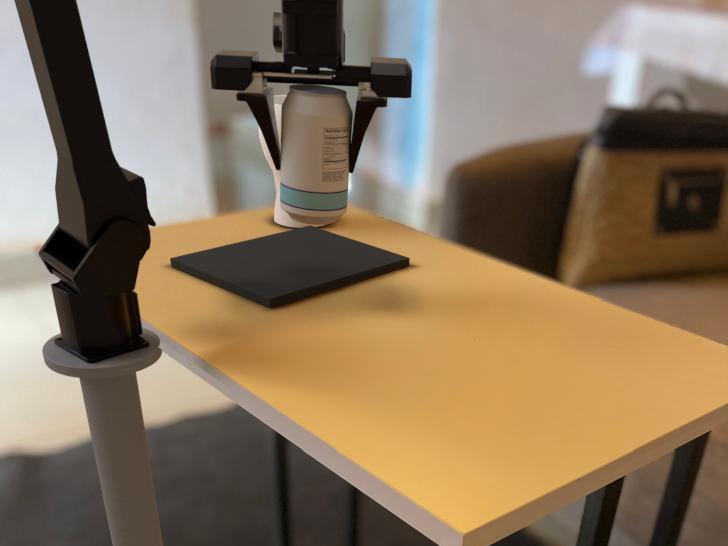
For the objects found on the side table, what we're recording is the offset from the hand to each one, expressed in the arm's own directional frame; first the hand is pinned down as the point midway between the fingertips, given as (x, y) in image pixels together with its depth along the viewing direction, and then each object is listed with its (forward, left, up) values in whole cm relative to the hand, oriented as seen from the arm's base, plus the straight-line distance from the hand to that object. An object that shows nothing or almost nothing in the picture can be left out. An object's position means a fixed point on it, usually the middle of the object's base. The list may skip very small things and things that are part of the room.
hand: (315, 170), depth 85 cm
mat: (+5, +10, -13) cm, 17 cm away
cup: (+19, +24, -13) cm, 33 cm away
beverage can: (0, 0, -5) cm, 5 cm away
